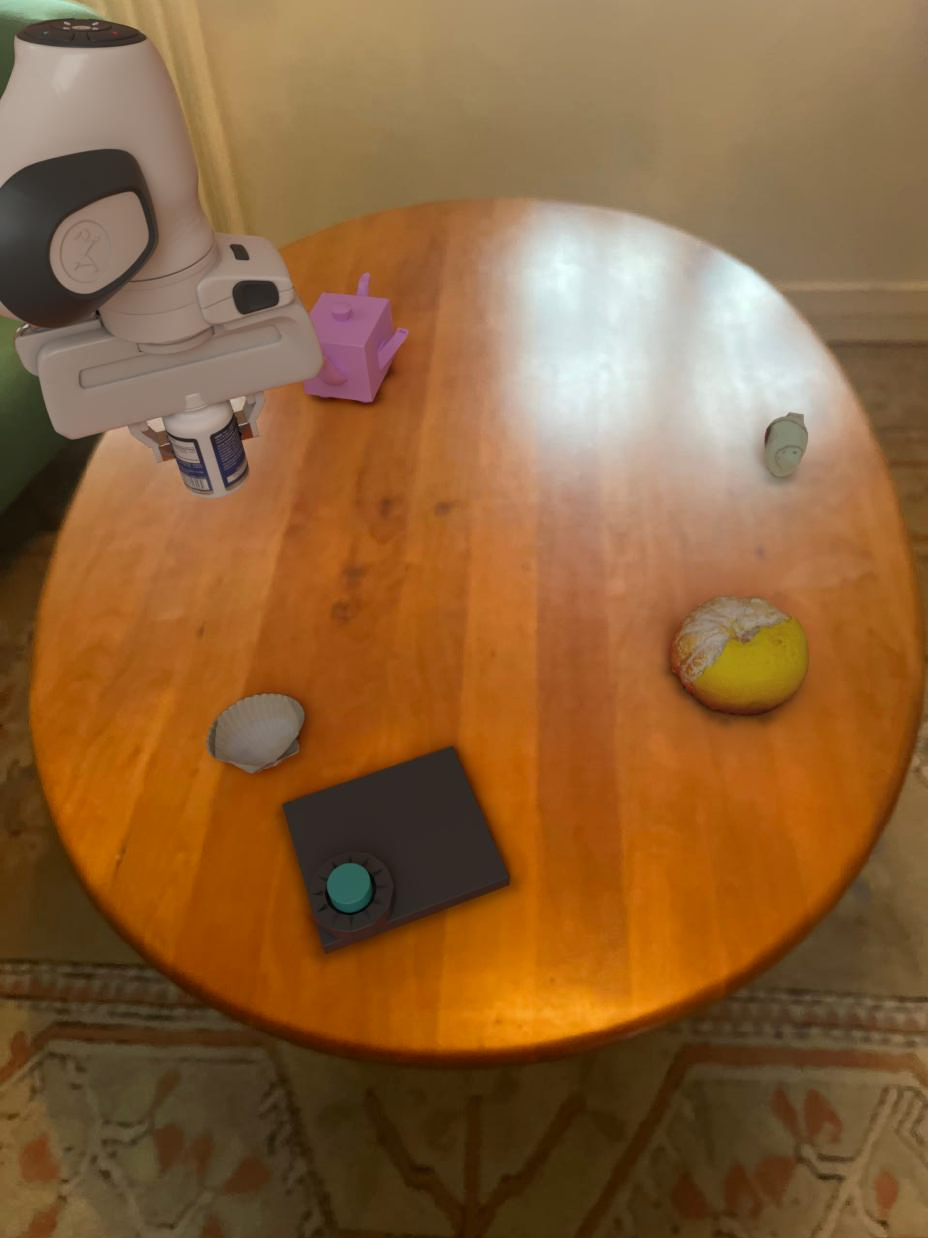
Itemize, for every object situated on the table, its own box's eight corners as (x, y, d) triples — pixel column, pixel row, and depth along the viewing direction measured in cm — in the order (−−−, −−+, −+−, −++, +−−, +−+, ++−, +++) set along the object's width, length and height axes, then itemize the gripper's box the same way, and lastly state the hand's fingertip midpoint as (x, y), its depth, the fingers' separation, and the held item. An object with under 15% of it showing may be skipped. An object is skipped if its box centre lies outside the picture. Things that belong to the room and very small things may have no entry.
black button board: (326, 960, 67) (320, 944, 64) (285, 812, 74) (277, 793, 72) (512, 890, 69) (512, 872, 67) (453, 754, 77) (451, 734, 75)
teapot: (390, 439, 103) (380, 362, 95) (276, 424, 105) (258, 348, 98) (434, 343, 114) (428, 268, 106) (330, 332, 116) (317, 258, 109)
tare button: (336, 919, 66) (333, 910, 65) (325, 881, 68) (322, 871, 66) (378, 904, 66) (375, 894, 65) (365, 866, 68) (363, 856, 67)
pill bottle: (244, 451, 81) (217, 352, 73) (256, 491, 77) (229, 392, 70) (180, 467, 80) (146, 368, 72) (190, 508, 76) (155, 409, 69)
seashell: (290, 707, 83) (197, 726, 80) (290, 680, 81) (195, 698, 78) (319, 771, 77) (220, 795, 74) (320, 743, 75) (218, 766, 72)
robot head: (794, 503, 94) (810, 449, 89) (752, 496, 95) (765, 443, 90) (799, 451, 99) (815, 398, 94) (759, 445, 100) (773, 392, 94)
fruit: (781, 610, 85) (811, 571, 77) (801, 724, 80) (834, 694, 73) (656, 614, 84) (673, 576, 77) (669, 728, 80) (689, 699, 73)
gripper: (6, 347, 61) (79, 506, 71) (314, 275, 65) (340, 435, 76) (-1, 298, 65) (70, 455, 75) (290, 233, 69) (319, 391, 80)
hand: (208, 445), depth 76 cm, fingers closed on pill bottle, 5 cm apart
